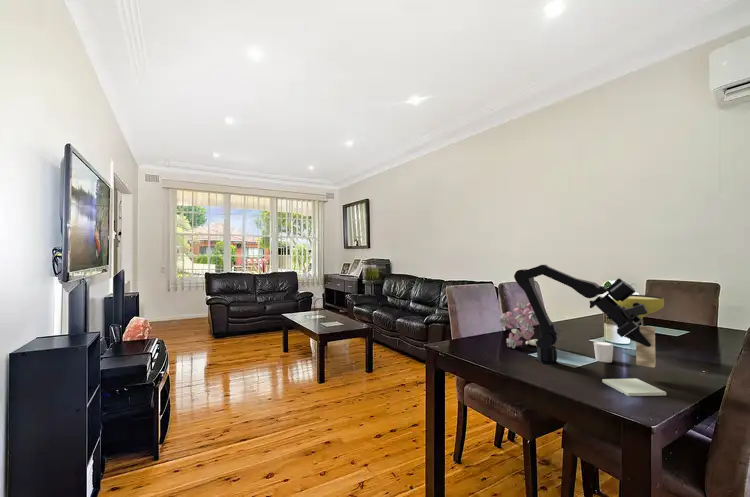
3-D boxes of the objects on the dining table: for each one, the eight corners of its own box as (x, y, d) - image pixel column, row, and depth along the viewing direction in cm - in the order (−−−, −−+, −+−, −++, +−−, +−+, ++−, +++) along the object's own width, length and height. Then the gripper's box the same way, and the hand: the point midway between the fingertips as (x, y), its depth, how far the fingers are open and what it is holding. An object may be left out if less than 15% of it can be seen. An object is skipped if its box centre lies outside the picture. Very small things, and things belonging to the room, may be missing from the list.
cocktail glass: (649, 362, 142) (647, 300, 143) (604, 351, 159) (603, 295, 159) (674, 356, 149) (673, 297, 150) (629, 346, 166) (628, 293, 166)
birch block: (636, 364, 123) (635, 327, 123) (637, 361, 127) (637, 325, 127) (654, 367, 120) (654, 329, 120) (655, 364, 124) (654, 327, 124)
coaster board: (628, 396, 109) (628, 392, 109) (602, 382, 121) (602, 379, 121) (666, 395, 109) (666, 392, 109) (636, 381, 121) (636, 378, 121)
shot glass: (617, 363, 141) (616, 345, 142) (598, 362, 143) (597, 345, 143) (609, 358, 148) (608, 341, 148) (591, 357, 150) (591, 341, 150)
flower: (493, 335, 185) (492, 294, 175) (538, 331, 182) (539, 290, 172) (503, 362, 167) (502, 319, 157) (553, 358, 164) (555, 314, 154)
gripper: (628, 298, 119) (671, 335, 112) (633, 293, 134) (672, 326, 126) (601, 318, 124) (640, 355, 117) (609, 311, 139) (644, 344, 131)
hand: (650, 344), depth 123 cm, fingers closed on birch block, 5 cm apart
